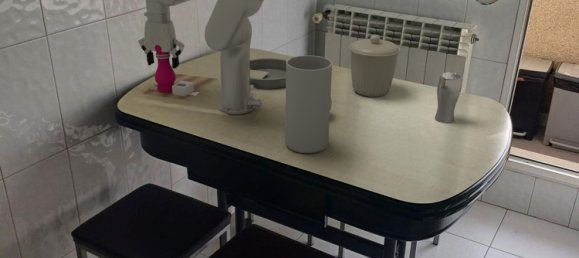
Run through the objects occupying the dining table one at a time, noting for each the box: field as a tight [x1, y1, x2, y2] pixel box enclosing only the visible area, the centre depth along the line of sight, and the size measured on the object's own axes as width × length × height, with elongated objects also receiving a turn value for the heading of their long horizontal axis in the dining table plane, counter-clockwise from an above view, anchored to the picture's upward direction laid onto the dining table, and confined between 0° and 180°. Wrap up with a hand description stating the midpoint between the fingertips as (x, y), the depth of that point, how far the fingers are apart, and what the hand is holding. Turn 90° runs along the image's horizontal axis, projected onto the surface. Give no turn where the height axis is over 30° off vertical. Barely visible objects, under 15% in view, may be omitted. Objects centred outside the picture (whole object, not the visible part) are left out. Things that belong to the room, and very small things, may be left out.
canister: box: [348, 34, 402, 97], centre depth 191 cm, size 18×18×21 cm
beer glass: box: [434, 71, 462, 124], centre depth 171 cm, size 7×7×15 cm
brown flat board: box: [142, 72, 218, 101], centre depth 194 cm, size 18×22×2 cm
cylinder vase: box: [284, 55, 333, 154], centre depth 152 cm, size 12×12×25 cm
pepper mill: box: [154, 45, 176, 93], centre depth 186 cm, size 7×7×20 cm
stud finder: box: [172, 81, 194, 96], centre depth 188 cm, size 5×6×3 cm
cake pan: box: [250, 57, 288, 89], centre depth 206 cm, size 25×25×4 cm
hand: (163, 65), depth 187 cm, fingers open, 9 cm apart
